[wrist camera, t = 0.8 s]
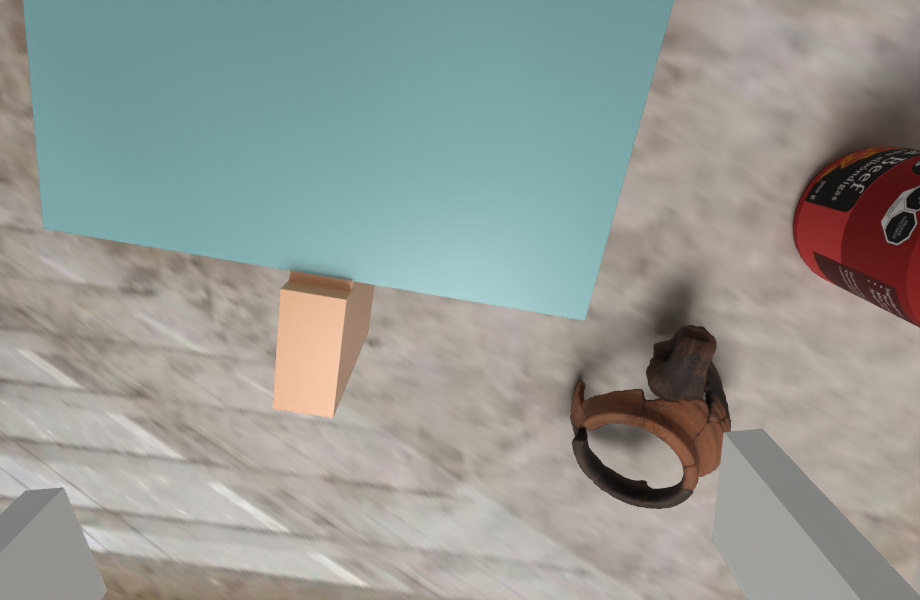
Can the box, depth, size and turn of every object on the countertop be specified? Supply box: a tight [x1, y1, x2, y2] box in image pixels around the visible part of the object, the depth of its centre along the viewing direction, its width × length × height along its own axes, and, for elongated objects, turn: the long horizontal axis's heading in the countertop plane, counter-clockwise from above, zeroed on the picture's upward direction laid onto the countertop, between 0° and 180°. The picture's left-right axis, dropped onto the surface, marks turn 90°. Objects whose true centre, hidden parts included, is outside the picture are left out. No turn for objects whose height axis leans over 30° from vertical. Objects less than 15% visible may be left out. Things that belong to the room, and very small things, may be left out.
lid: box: [23, 0, 674, 418], centre depth 22 cm, size 21×20×8 cm
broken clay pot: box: [570, 325, 731, 509], centre depth 34 cm, size 12×10×8 cm
